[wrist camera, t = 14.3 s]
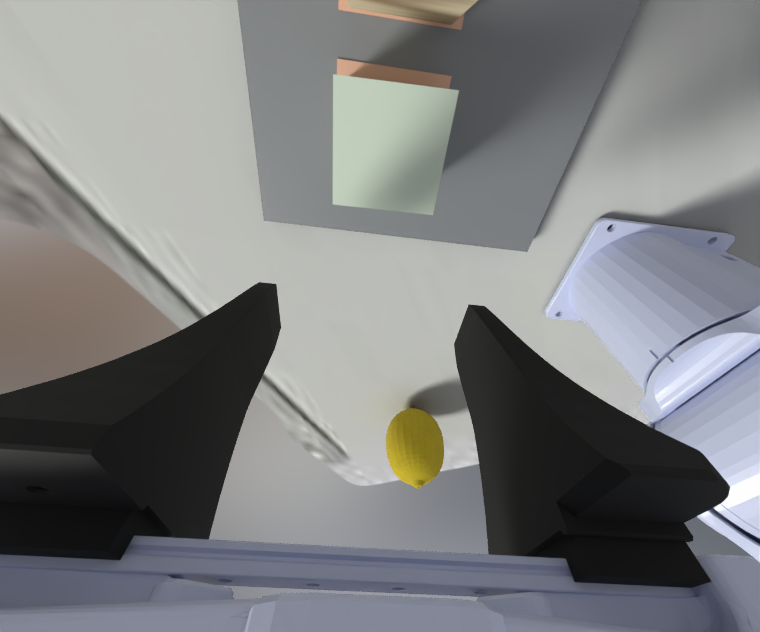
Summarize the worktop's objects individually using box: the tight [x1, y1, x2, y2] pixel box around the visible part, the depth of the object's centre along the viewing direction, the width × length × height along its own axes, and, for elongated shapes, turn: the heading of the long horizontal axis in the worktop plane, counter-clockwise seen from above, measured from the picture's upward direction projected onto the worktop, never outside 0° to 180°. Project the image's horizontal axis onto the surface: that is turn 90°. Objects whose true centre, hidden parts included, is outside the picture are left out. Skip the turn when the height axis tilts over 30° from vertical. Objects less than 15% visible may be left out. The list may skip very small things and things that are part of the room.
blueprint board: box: [238, 0, 642, 252], centre depth 14 cm, size 17×19×1 cm
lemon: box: [386, 408, 444, 488], centre depth 29 cm, size 6×6×8 cm
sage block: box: [333, 74, 459, 215], centre depth 14 cm, size 4×4×5 cm
